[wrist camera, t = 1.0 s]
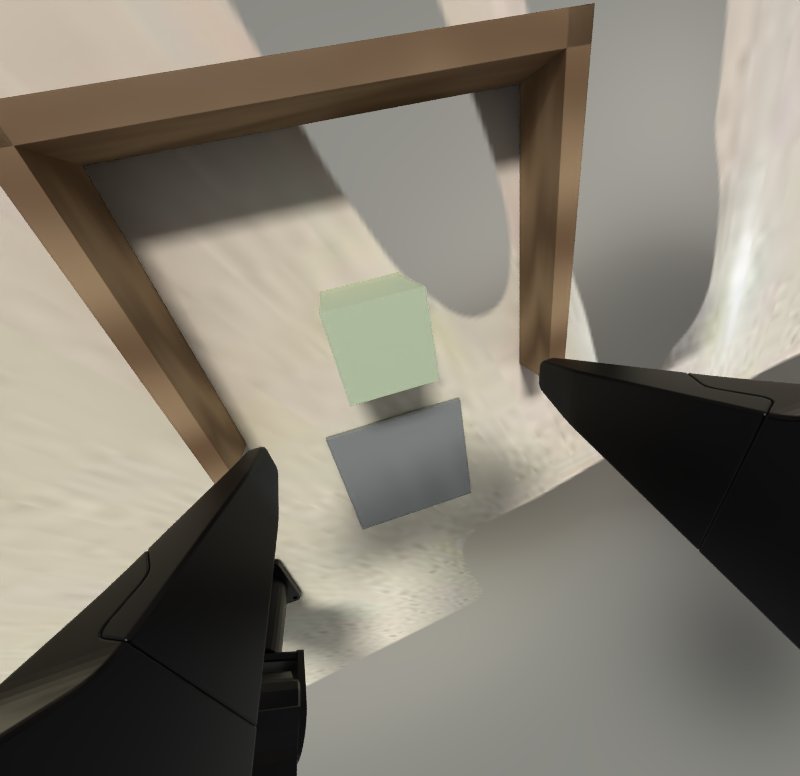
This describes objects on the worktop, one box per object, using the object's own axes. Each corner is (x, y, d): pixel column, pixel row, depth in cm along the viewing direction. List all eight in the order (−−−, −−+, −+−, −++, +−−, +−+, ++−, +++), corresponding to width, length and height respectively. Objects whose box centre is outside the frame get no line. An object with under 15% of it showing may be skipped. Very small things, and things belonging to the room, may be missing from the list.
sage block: (411, 344, 21) (439, 379, 16) (343, 363, 21) (350, 406, 16) (397, 272, 19) (425, 286, 14) (320, 291, 18) (319, 313, 13)
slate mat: (469, 489, 30) (470, 492, 29) (362, 525, 28) (362, 529, 28) (458, 397, 24) (460, 400, 24) (326, 437, 23) (326, 440, 23)
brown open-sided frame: (533, 359, 24) (563, 376, 21) (229, 448, 22) (214, 483, 19) (541, 48, 15) (594, 3, 12) (33, 137, 13) (-56, 107, 10)
